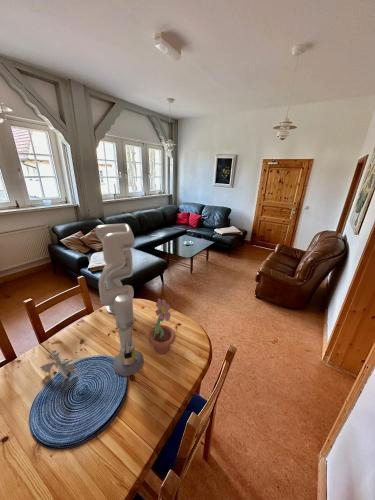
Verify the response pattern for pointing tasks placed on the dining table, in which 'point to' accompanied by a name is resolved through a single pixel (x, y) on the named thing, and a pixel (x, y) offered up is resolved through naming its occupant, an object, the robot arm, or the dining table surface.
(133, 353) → the supplement bottle
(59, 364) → the fairy figurine
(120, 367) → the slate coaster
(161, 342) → the decorative flower
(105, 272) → the robot arm
